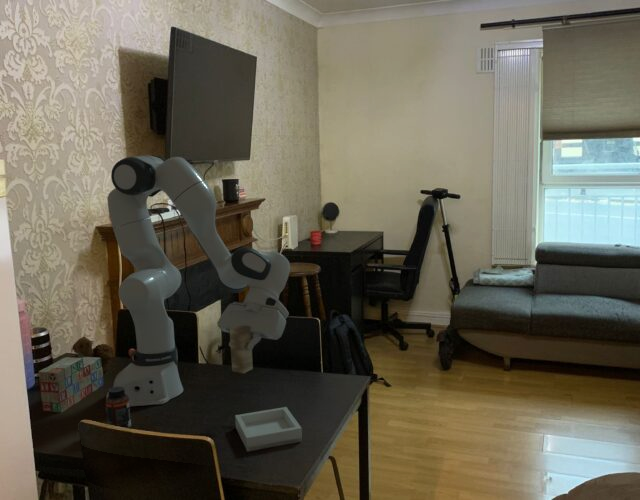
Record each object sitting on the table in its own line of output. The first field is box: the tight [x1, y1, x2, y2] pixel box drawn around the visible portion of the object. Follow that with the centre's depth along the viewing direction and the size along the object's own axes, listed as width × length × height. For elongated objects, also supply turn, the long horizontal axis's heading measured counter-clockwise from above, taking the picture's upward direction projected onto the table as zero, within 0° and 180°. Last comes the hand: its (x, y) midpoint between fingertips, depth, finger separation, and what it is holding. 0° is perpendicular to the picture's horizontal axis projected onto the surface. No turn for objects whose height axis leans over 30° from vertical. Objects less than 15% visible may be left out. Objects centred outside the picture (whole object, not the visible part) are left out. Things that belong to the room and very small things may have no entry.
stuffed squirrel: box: [70, 335, 116, 373], centre depth 205 cm, size 10×14×13 cm
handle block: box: [229, 325, 254, 374], centre depth 167 cm, size 4×4×12 cm
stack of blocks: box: [38, 356, 105, 414], centre depth 186 cm, size 21×6×12 cm, turn 166°
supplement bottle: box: [105, 386, 132, 429], centre depth 163 cm, size 6×6×11 cm
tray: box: [234, 406, 303, 452], centre depth 158 cm, size 14×14×4 cm
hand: (239, 348), depth 167 cm, fingers closed on handle block, 4 cm apart
